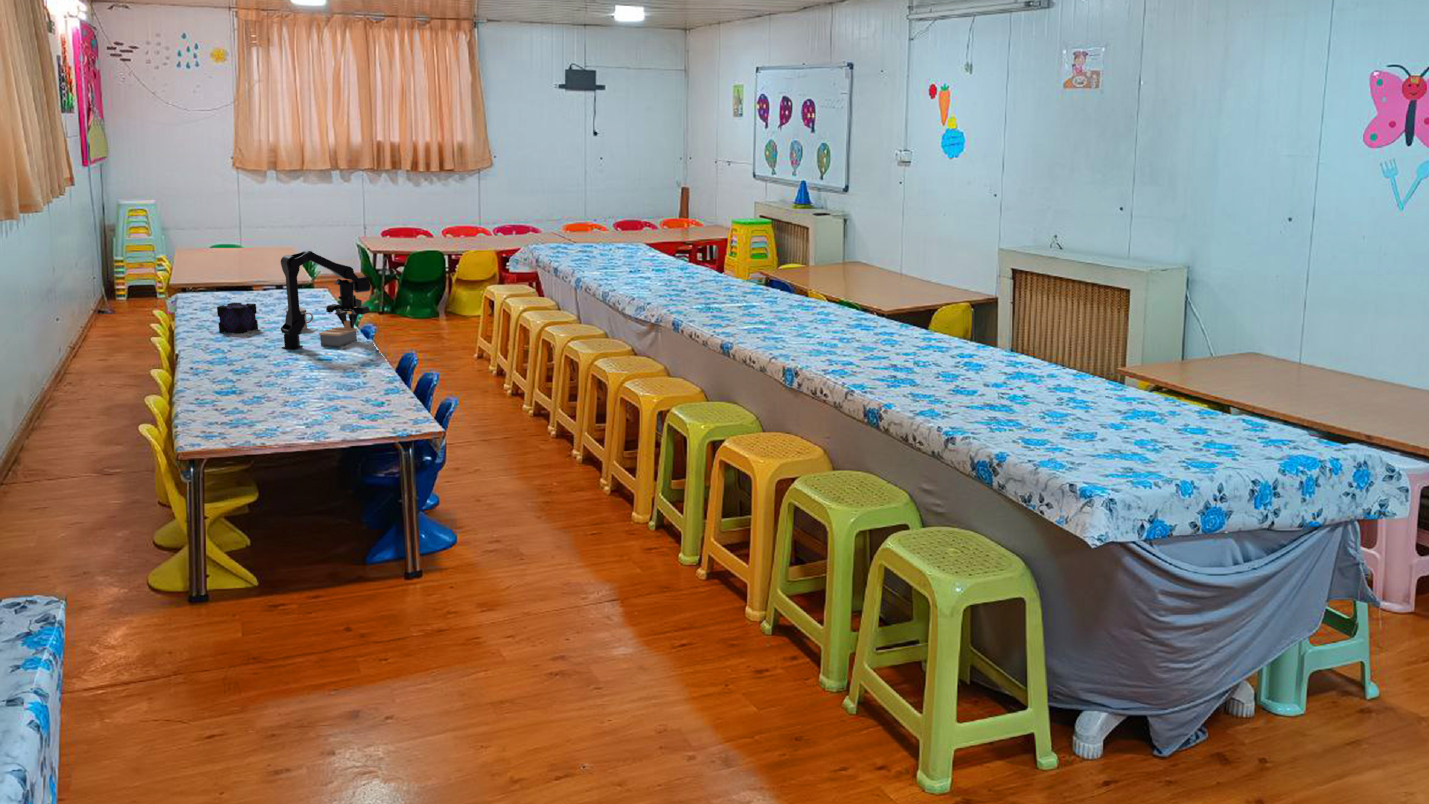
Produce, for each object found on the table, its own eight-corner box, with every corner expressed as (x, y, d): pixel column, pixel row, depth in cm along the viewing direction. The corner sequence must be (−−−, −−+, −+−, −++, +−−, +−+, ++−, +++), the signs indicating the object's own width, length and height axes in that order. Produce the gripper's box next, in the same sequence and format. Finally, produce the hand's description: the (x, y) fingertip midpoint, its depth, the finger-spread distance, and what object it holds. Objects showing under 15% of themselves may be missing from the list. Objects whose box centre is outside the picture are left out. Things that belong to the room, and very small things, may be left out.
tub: (339, 347, 501) (338, 336, 499) (321, 346, 503) (320, 334, 502) (356, 341, 514) (356, 330, 512) (339, 339, 516) (338, 328, 515)
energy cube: (219, 332, 529) (216, 306, 526) (235, 327, 541) (233, 302, 538) (242, 334, 527) (239, 308, 524) (258, 329, 538) (255, 303, 535)
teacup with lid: (289, 331, 533) (287, 306, 530) (285, 328, 540) (283, 303, 537) (316, 329, 539) (314, 304, 536) (311, 325, 547) (309, 301, 544)
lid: (338, 336, 499) (338, 328, 498) (319, 334, 502) (318, 326, 501) (360, 328, 515) (360, 321, 514) (341, 327, 518) (340, 319, 517)
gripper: (375, 292, 516) (377, 326, 520) (338, 289, 521) (341, 323, 525) (361, 296, 506) (363, 330, 510) (324, 293, 510) (326, 328, 514)
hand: (349, 328), depth 515 cm, fingers closed on lid, 3 cm apart
